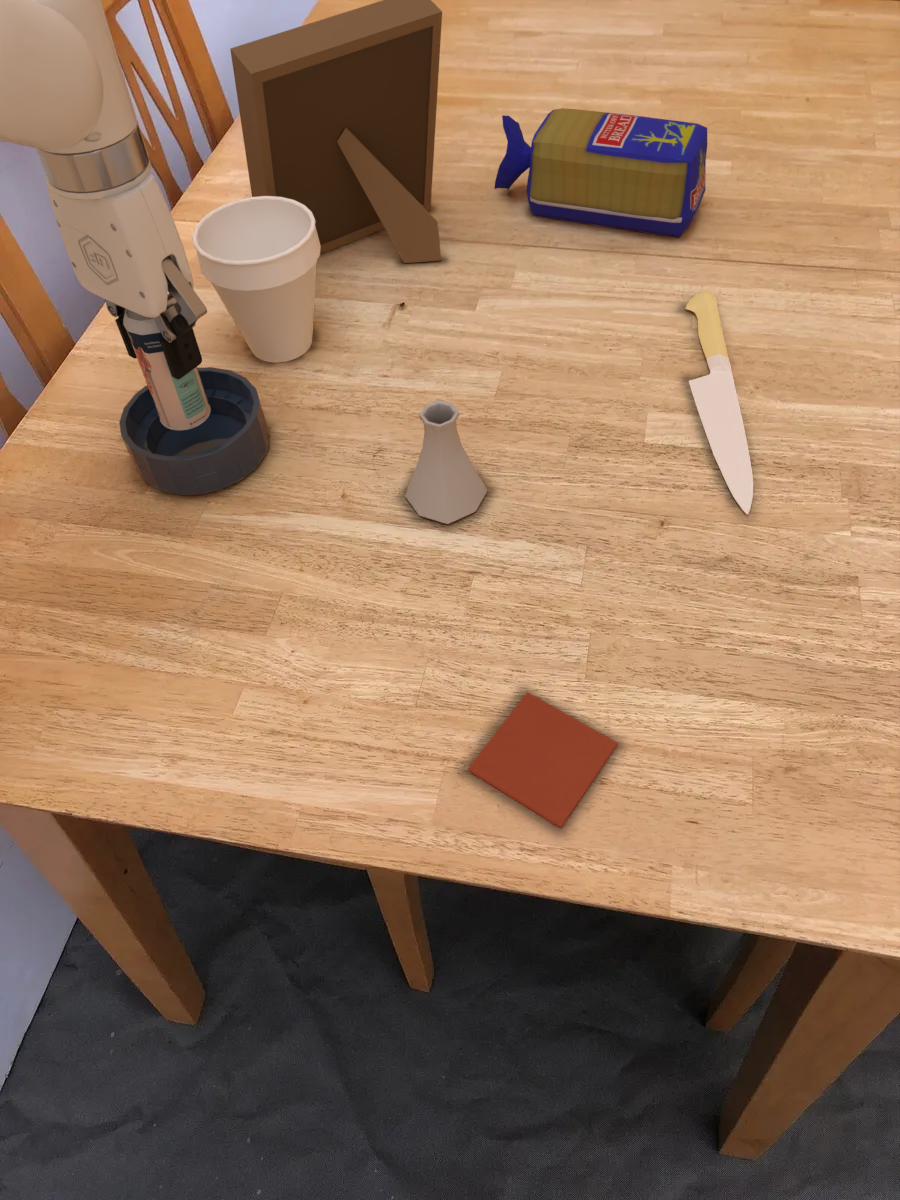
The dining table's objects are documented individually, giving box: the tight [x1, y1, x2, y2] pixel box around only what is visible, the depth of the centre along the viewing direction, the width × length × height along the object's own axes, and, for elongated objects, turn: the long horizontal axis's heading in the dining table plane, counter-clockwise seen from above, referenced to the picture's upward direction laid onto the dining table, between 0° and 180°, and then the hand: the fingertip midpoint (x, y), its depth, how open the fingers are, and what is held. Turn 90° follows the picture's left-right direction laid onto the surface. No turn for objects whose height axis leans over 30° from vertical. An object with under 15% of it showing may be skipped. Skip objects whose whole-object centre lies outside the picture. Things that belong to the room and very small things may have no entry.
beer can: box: [123, 306, 211, 431], centre depth 83 cm, size 5×5×12 cm
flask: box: [404, 399, 489, 525], centre depth 82 cm, size 7×7×10 cm
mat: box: [467, 691, 618, 829], centre depth 68 cm, size 8×8×1 cm
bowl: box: [118, 366, 271, 496], centre depth 90 cm, size 13×13×5 cm
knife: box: [684, 290, 754, 516], centre depth 92 cm, size 1×33×4 cm
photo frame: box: [230, 0, 443, 264], centre depth 102 cm, size 15×22×25 cm
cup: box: [191, 196, 321, 364], centre depth 96 cm, size 12×12×14 cm
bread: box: [493, 107, 708, 238], centre depth 110 cm, size 10×25×10 cm, turn 68°
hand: (165, 358), depth 82 cm, fingers closed on beer can, 4 cm apart
